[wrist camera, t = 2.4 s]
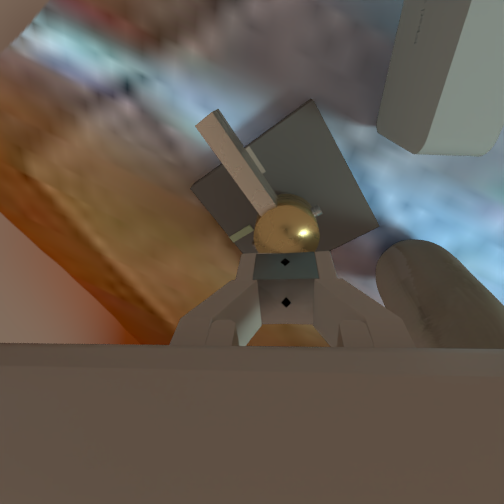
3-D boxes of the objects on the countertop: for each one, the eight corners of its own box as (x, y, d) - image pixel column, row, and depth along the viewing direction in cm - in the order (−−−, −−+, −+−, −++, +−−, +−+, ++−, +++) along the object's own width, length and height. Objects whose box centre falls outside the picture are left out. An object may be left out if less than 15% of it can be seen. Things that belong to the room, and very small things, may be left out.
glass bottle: (354, 269, 44) (439, 496, 20) (400, 215, 39) (587, 436, 15) (406, 294, 45) (542, 531, 22) (457, 245, 40) (708, 488, 17)
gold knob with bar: (332, 226, 34) (338, 243, 30) (271, 259, 37) (270, 277, 33) (246, 85, 27) (241, 87, 23) (180, 140, 30) (167, 148, 26)
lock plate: (375, 219, 39) (389, 241, 34) (266, 274, 46) (264, 299, 41) (311, 98, 32) (316, 102, 27) (194, 183, 39) (180, 199, 34)
